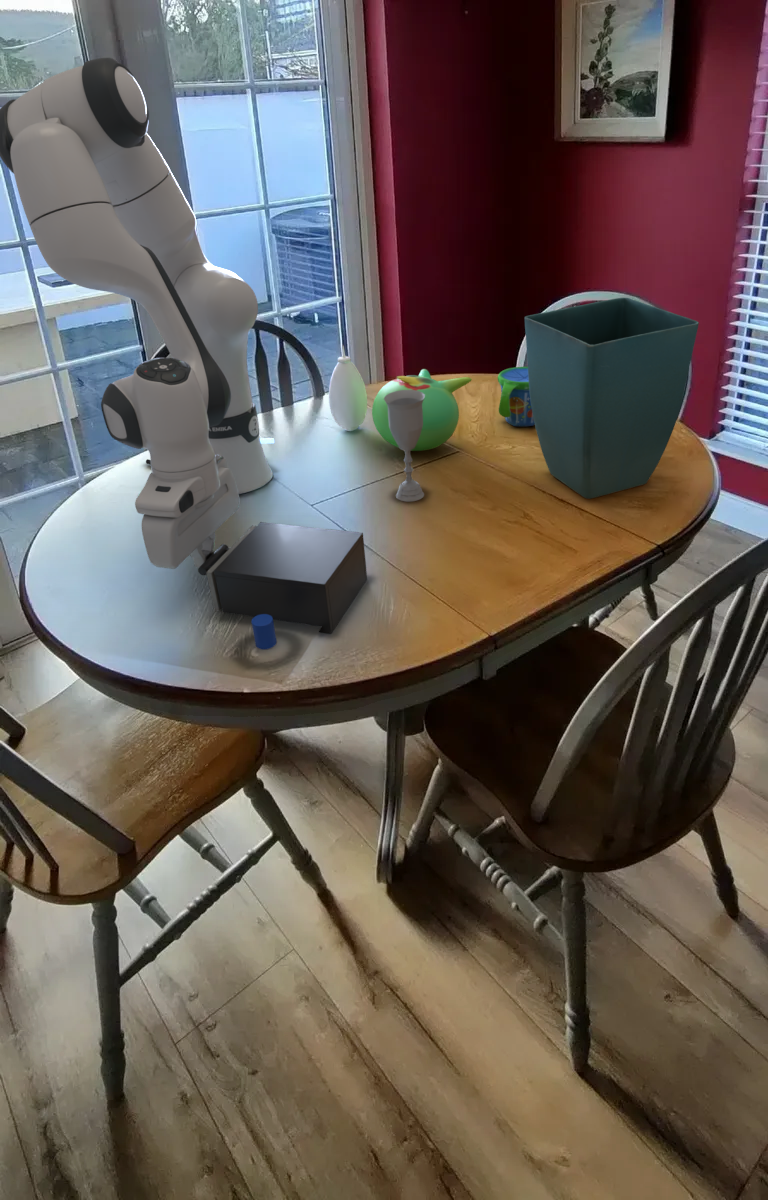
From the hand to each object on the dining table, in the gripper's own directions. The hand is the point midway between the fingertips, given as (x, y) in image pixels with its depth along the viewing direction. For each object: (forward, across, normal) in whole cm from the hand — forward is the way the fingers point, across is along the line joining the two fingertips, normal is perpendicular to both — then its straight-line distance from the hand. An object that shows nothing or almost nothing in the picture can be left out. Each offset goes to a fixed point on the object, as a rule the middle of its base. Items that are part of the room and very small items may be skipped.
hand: (205, 563), depth 123 cm
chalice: (+4, -36, +20) cm, 42 cm away
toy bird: (+4, -58, +15) cm, 60 cm away
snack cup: (+4, -74, +33) cm, 81 cm away
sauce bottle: (+4, -64, -2) cm, 64 cm away
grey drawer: (+4, 0, +11) cm, 12 cm away
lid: (+4, +12, +16) cm, 20 cm away
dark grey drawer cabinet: (+4, 0, +14) cm, 15 cm away
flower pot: (+4, -48, +51) cm, 71 cm away
